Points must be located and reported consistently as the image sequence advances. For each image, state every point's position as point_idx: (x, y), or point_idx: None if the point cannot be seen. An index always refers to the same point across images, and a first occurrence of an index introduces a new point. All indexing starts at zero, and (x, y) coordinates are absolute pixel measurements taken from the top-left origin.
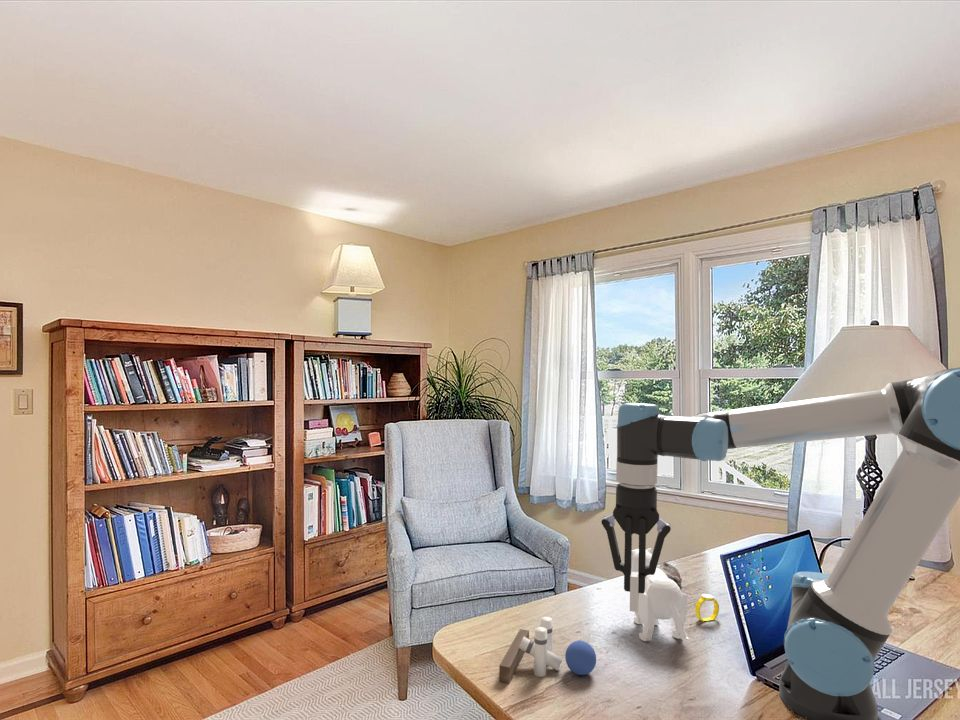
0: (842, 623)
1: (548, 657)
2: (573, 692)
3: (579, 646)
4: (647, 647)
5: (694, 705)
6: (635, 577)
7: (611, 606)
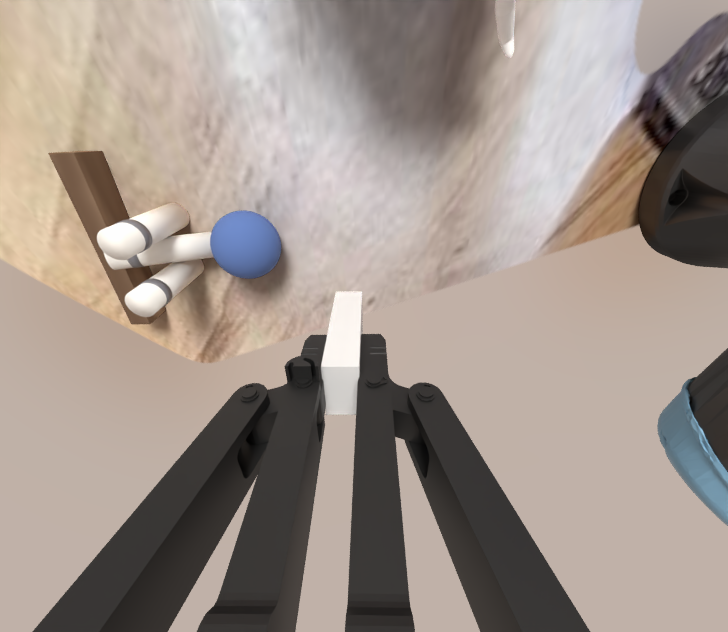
0: None
1: (187, 260)
2: (267, 298)
3: (237, 269)
4: (383, 20)
5: (461, 267)
6: (347, 413)
7: None
